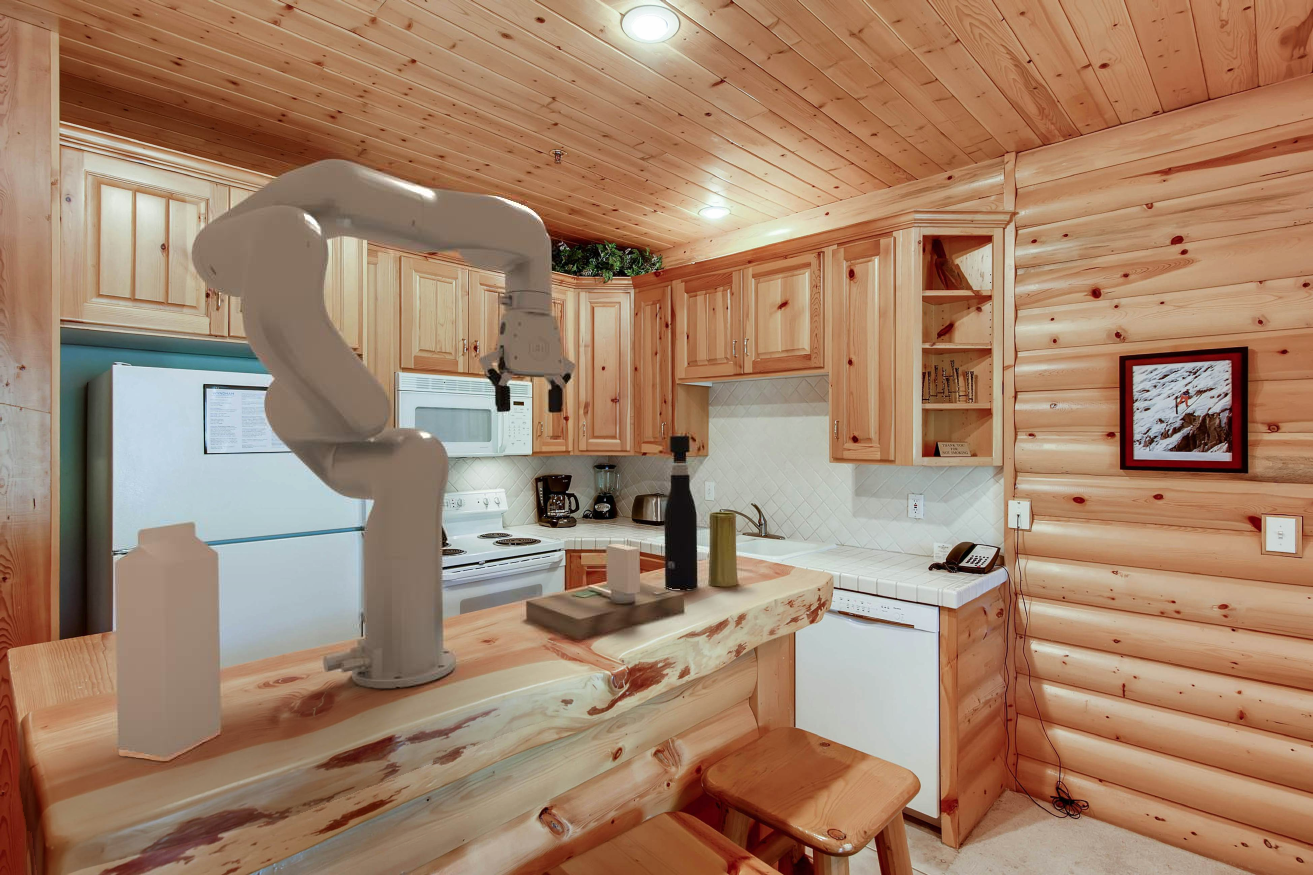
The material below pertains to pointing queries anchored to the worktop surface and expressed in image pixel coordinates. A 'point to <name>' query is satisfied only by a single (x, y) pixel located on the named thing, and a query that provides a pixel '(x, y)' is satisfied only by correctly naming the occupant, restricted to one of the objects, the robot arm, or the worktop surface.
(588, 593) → the dial board
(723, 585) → the vase
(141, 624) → the milk
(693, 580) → the black bottle
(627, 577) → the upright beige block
